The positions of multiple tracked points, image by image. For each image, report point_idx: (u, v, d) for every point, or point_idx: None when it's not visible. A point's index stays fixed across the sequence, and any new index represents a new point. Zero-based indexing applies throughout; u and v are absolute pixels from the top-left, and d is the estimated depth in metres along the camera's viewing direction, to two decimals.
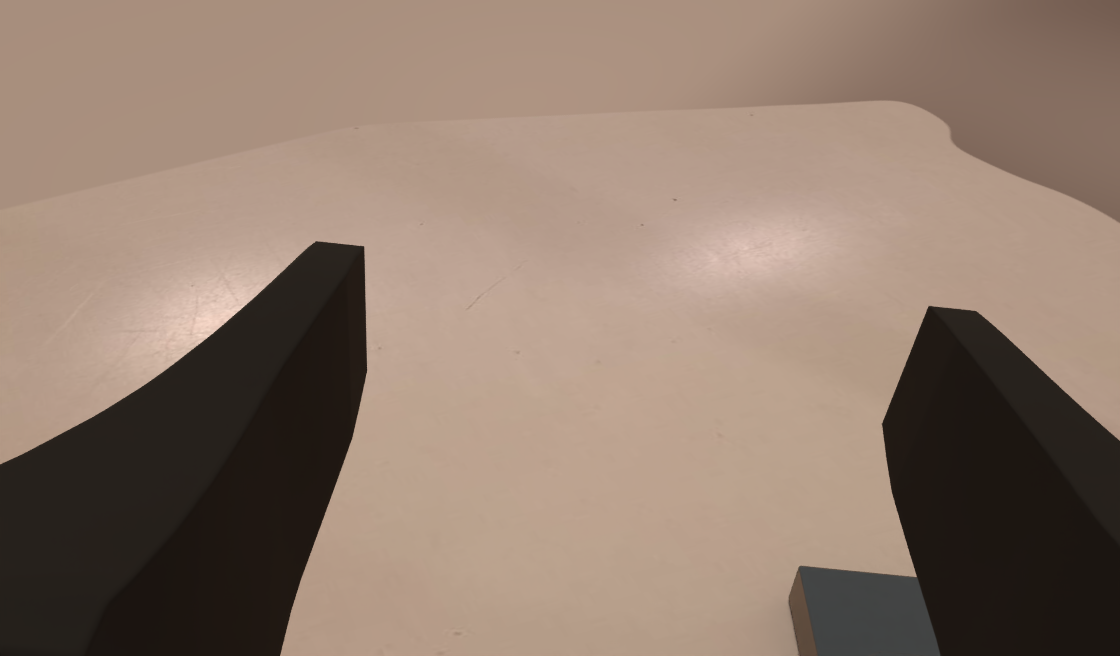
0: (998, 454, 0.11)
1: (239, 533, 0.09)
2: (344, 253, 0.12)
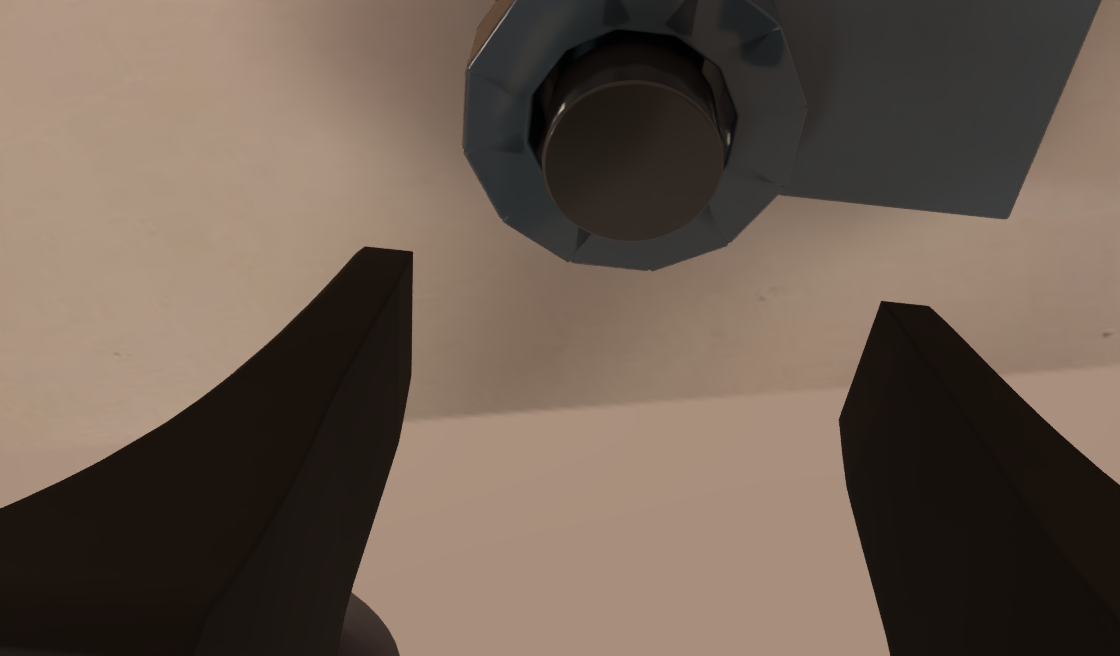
0: (942, 448, 0.11)
1: (307, 540, 0.09)
2: (394, 258, 0.12)
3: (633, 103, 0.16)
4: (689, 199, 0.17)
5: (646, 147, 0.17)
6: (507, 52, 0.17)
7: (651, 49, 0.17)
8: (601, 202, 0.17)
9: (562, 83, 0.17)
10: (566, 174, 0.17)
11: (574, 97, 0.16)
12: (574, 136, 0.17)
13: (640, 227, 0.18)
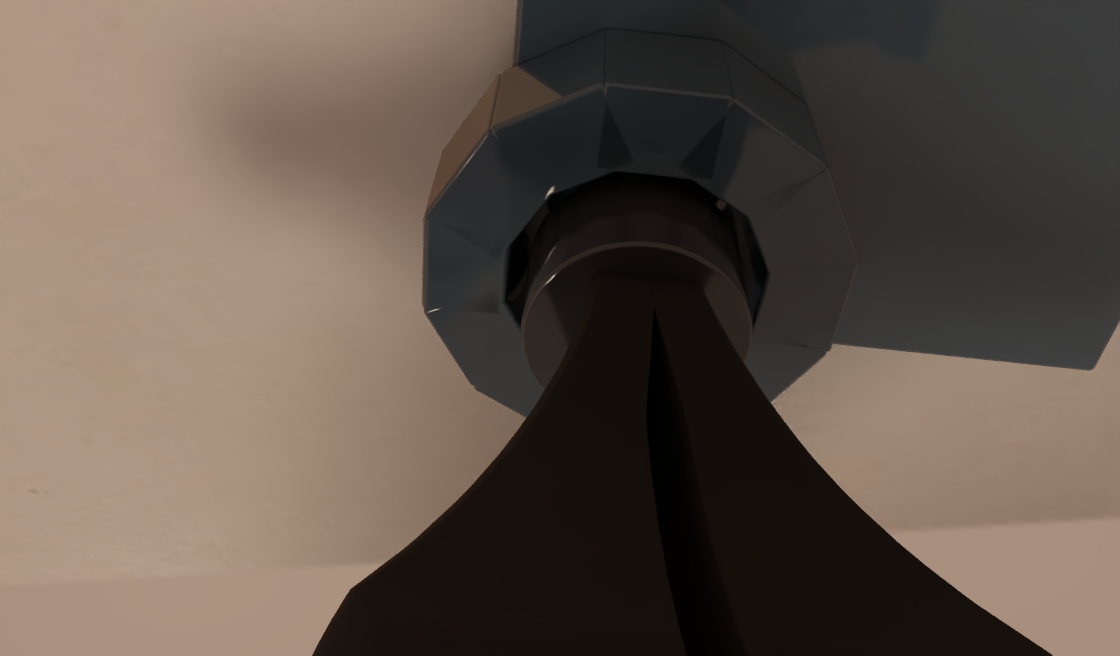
0: (666, 420, 0.11)
1: None
2: (637, 285, 0.12)
3: (638, 269, 0.13)
4: None
5: None
6: (477, 197, 0.13)
7: (660, 190, 0.13)
8: None
9: (547, 230, 0.14)
10: (552, 349, 0.13)
11: (561, 260, 0.13)
12: (561, 306, 0.13)
13: None
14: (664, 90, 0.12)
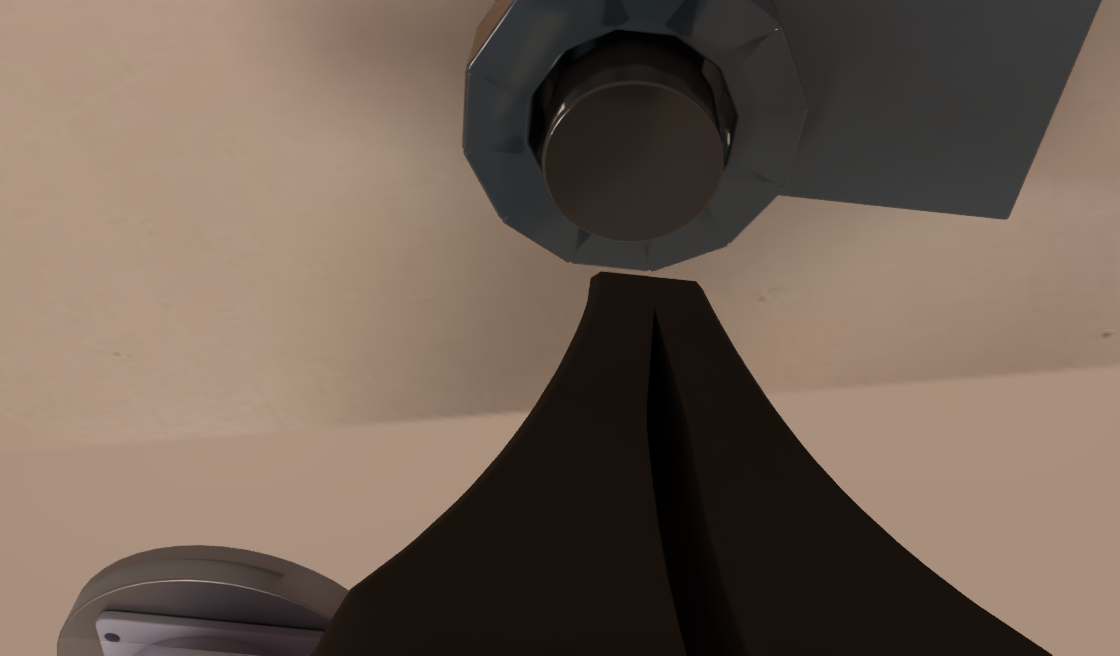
0: (666, 420, 0.11)
1: None
2: (636, 284, 0.12)
3: (633, 104, 0.16)
4: (689, 199, 0.17)
5: (646, 147, 0.17)
6: (507, 52, 0.17)
7: (651, 49, 0.17)
8: (601, 202, 0.17)
9: (562, 83, 0.17)
10: (566, 174, 0.17)
11: (574, 97, 0.16)
12: (574, 136, 0.17)
13: (640, 227, 0.18)
14: None
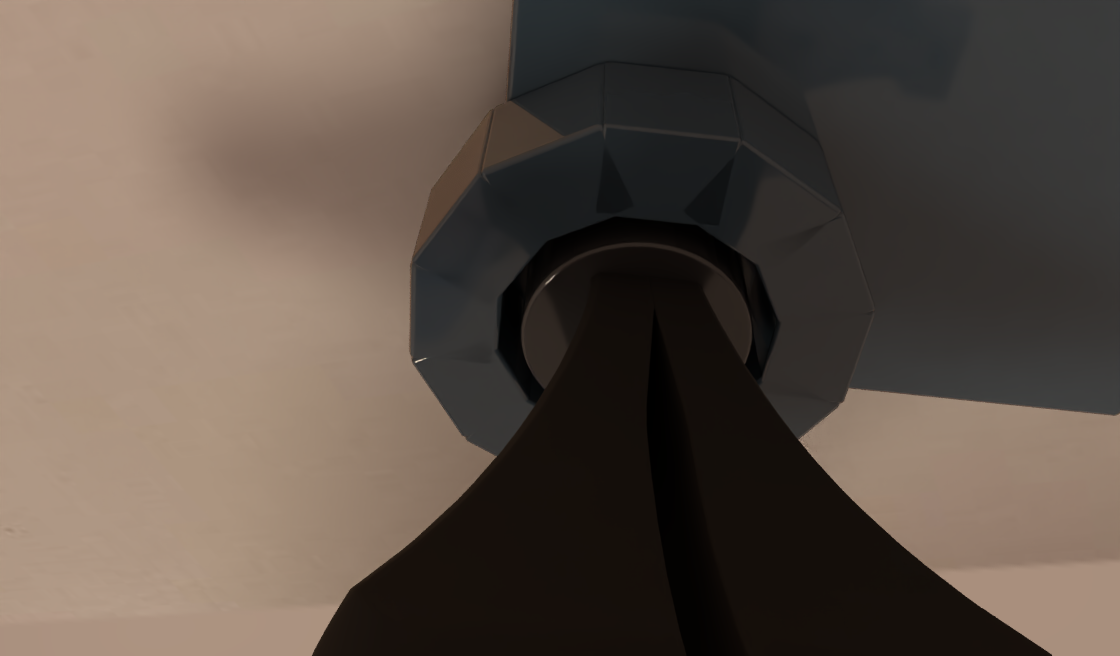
0: (667, 420, 0.11)
1: None
2: (637, 284, 0.12)
3: (638, 269, 0.13)
4: None
5: None
6: (467, 243, 0.13)
7: None
8: None
9: None
10: (552, 349, 0.13)
11: (561, 260, 0.13)
12: (561, 307, 0.13)
13: None
14: (668, 132, 0.12)
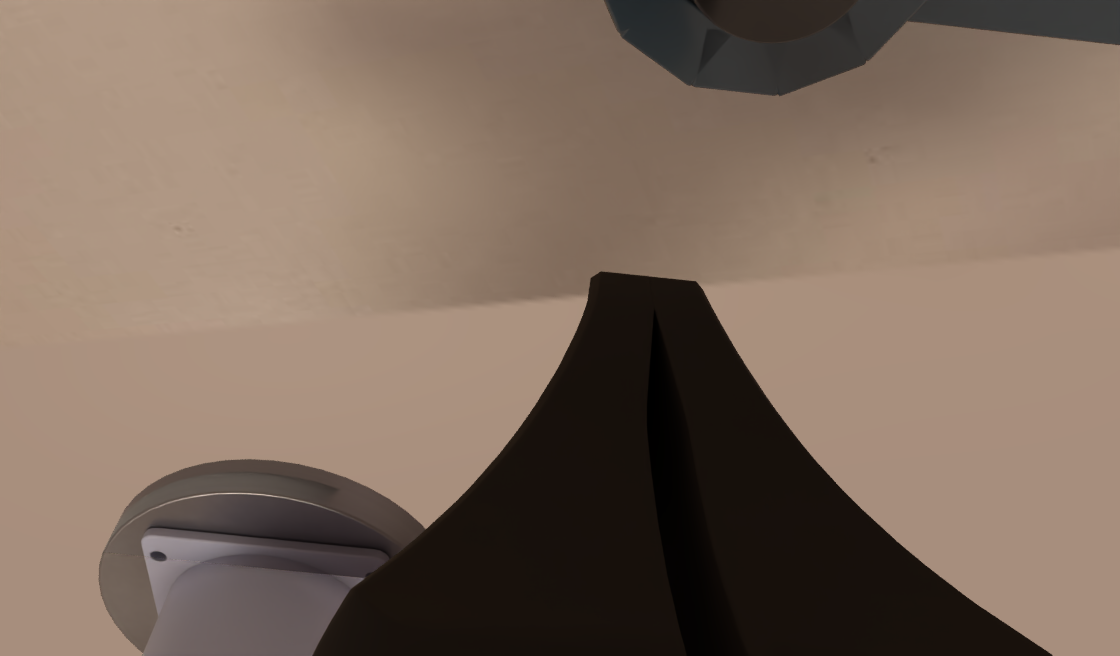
0: (666, 420, 0.11)
1: None
2: (636, 284, 0.12)
3: None
4: None
5: None
6: None
7: None
8: None
9: None
10: None
11: None
12: None
13: (784, 24, 0.16)
14: None
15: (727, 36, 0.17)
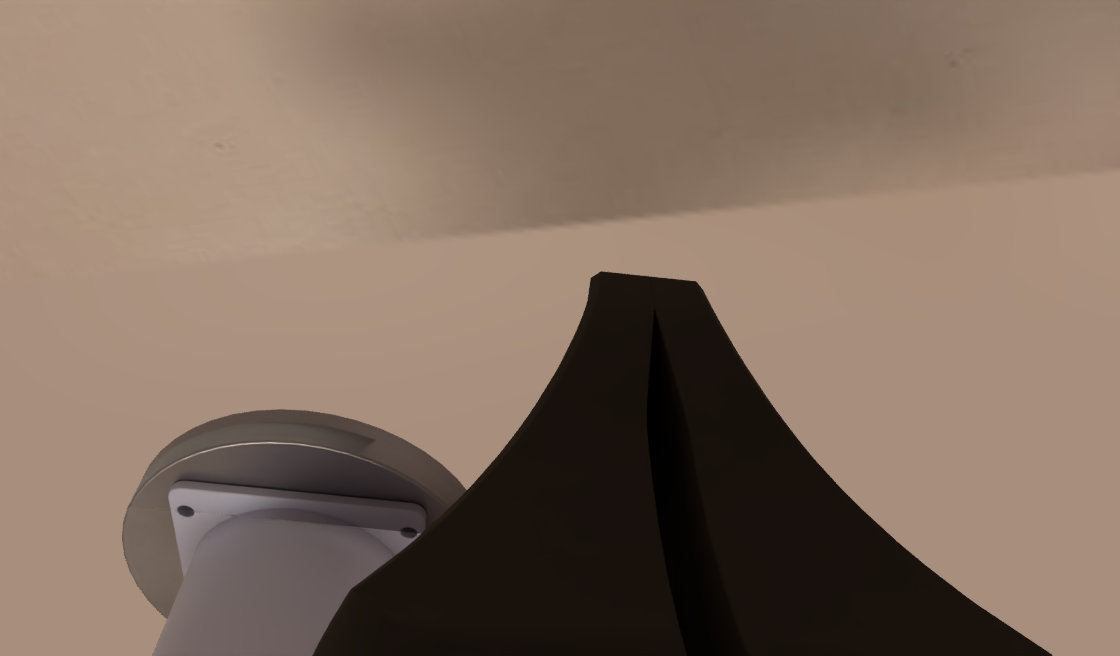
0: (666, 420, 0.11)
1: None
2: (636, 284, 0.12)
3: None
4: None
5: None
6: None
7: None
8: None
9: None
10: None
11: None
12: None
13: None
14: None
15: None
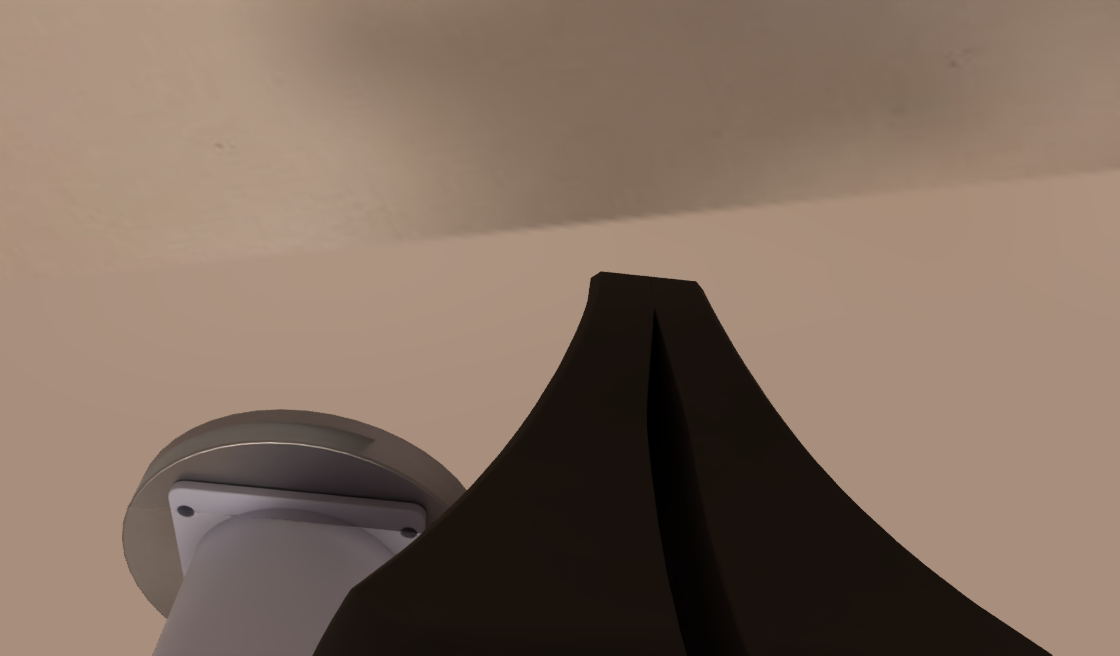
0: (666, 420, 0.11)
1: None
2: (636, 284, 0.12)
3: None
4: None
5: None
6: None
7: None
8: None
9: None
10: None
11: None
12: None
13: None
14: None
15: None
